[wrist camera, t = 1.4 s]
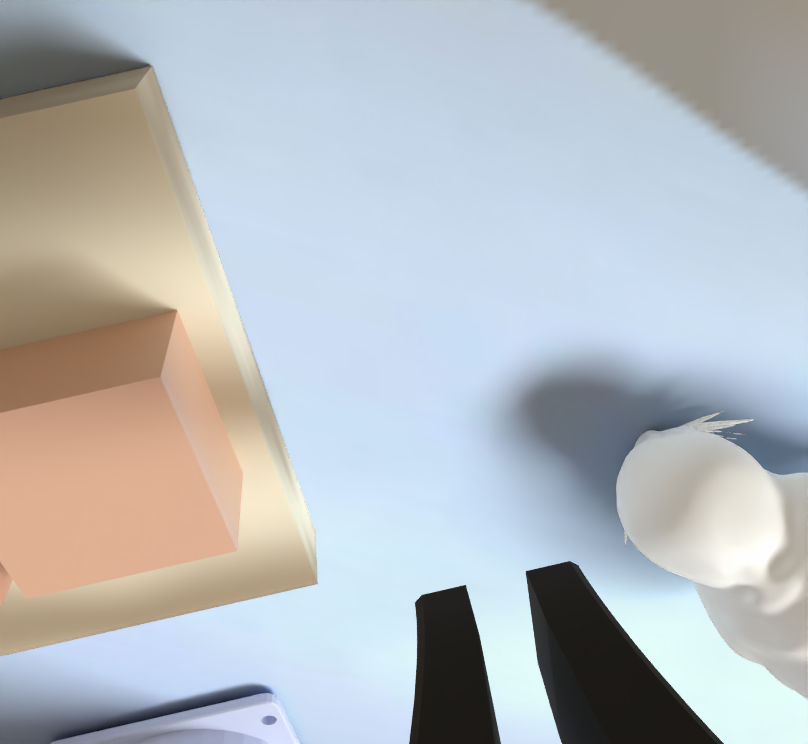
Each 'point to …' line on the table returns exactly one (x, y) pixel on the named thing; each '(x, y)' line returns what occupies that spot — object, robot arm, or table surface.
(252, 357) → the thin cream square panel
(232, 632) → the table surface
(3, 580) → the tile
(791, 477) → the white figurine
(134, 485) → the tile
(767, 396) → the table surface
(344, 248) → the table surface
